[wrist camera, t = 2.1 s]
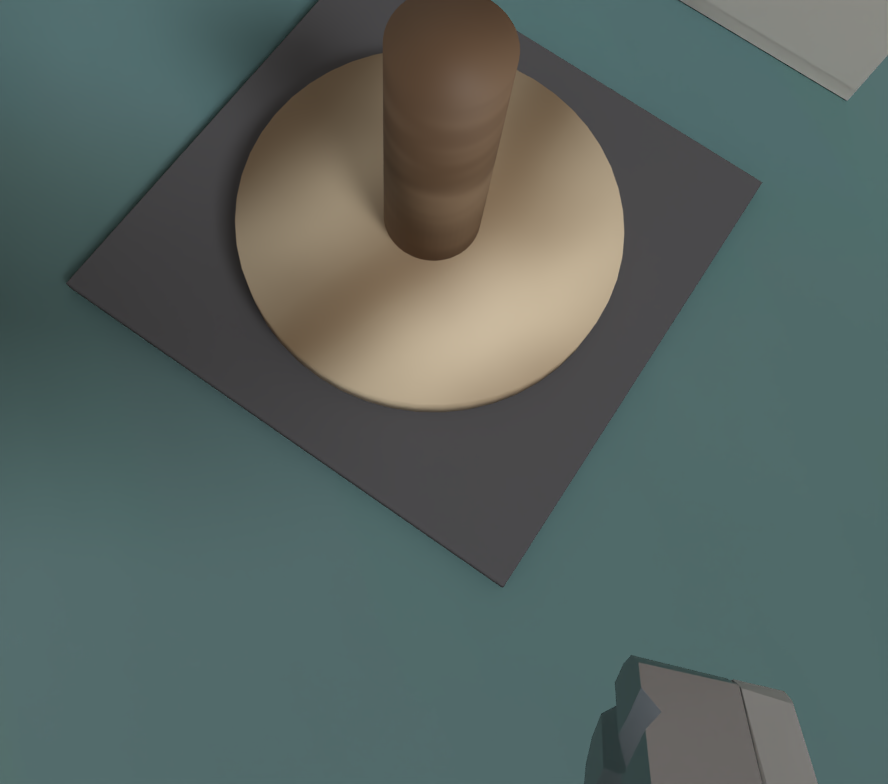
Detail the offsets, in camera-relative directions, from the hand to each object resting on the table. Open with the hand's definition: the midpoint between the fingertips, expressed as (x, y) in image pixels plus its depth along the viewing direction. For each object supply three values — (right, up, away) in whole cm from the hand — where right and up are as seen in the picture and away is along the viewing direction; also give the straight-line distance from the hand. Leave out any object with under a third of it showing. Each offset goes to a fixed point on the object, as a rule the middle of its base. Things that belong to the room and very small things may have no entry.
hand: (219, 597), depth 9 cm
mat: (+2, +7, +19) cm, 20 cm away
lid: (+2, +7, +19) cm, 20 cm away
